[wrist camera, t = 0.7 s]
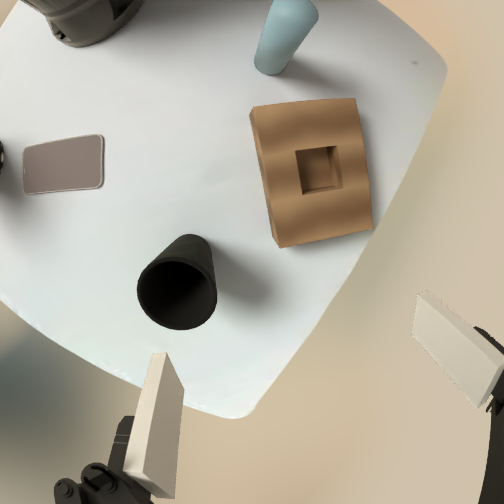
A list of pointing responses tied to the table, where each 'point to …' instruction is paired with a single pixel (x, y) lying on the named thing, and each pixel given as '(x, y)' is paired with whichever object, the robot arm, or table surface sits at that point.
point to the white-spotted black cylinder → (1, 157)
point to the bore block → (312, 169)
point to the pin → (284, 33)
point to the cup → (179, 285)
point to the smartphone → (63, 165)
